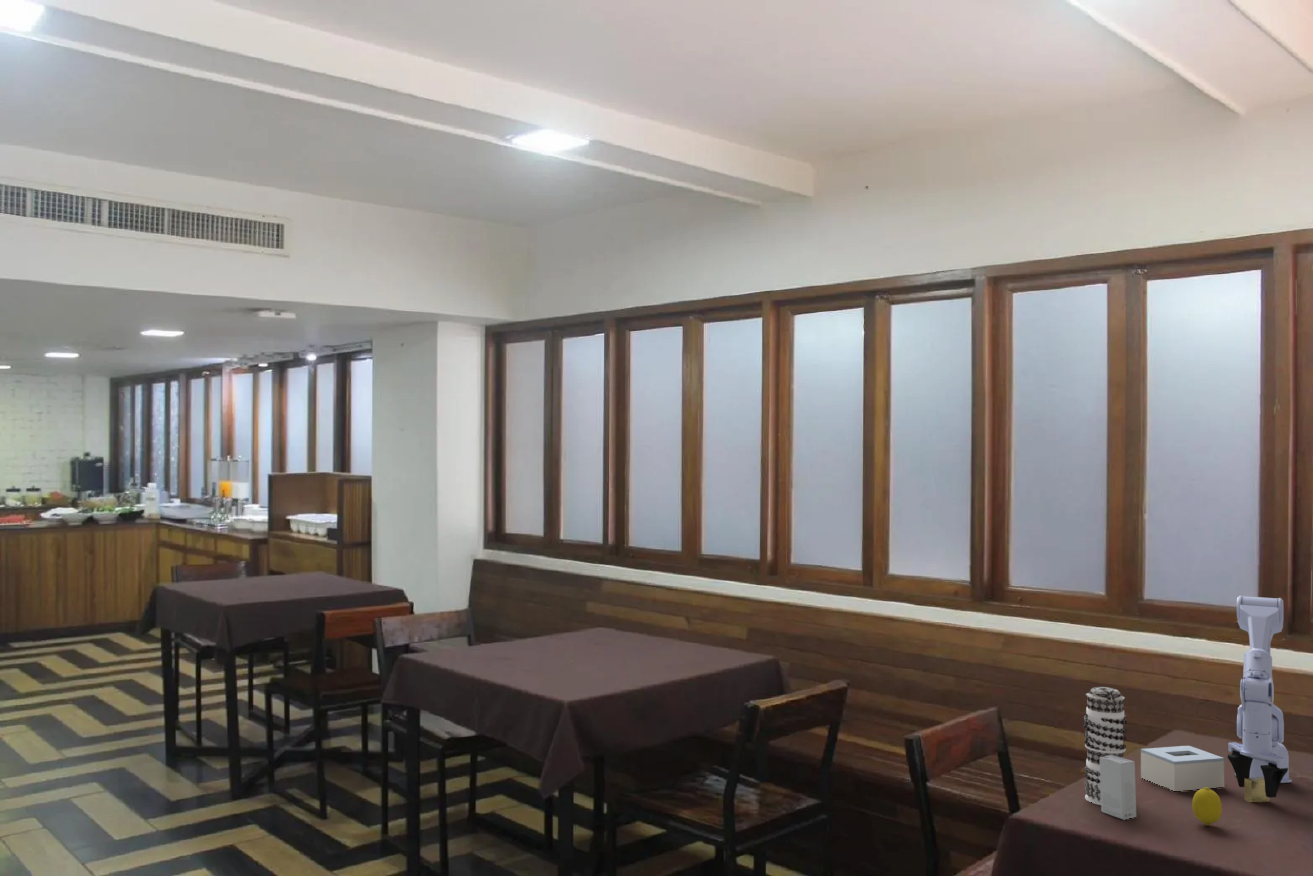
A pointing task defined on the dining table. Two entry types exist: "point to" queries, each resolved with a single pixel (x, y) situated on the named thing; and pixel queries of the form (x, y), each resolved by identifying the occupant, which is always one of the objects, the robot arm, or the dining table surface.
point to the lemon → (1207, 806)
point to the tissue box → (1182, 768)
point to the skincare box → (1118, 787)
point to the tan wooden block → (1255, 790)
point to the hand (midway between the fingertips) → (1257, 791)
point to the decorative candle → (1102, 735)
